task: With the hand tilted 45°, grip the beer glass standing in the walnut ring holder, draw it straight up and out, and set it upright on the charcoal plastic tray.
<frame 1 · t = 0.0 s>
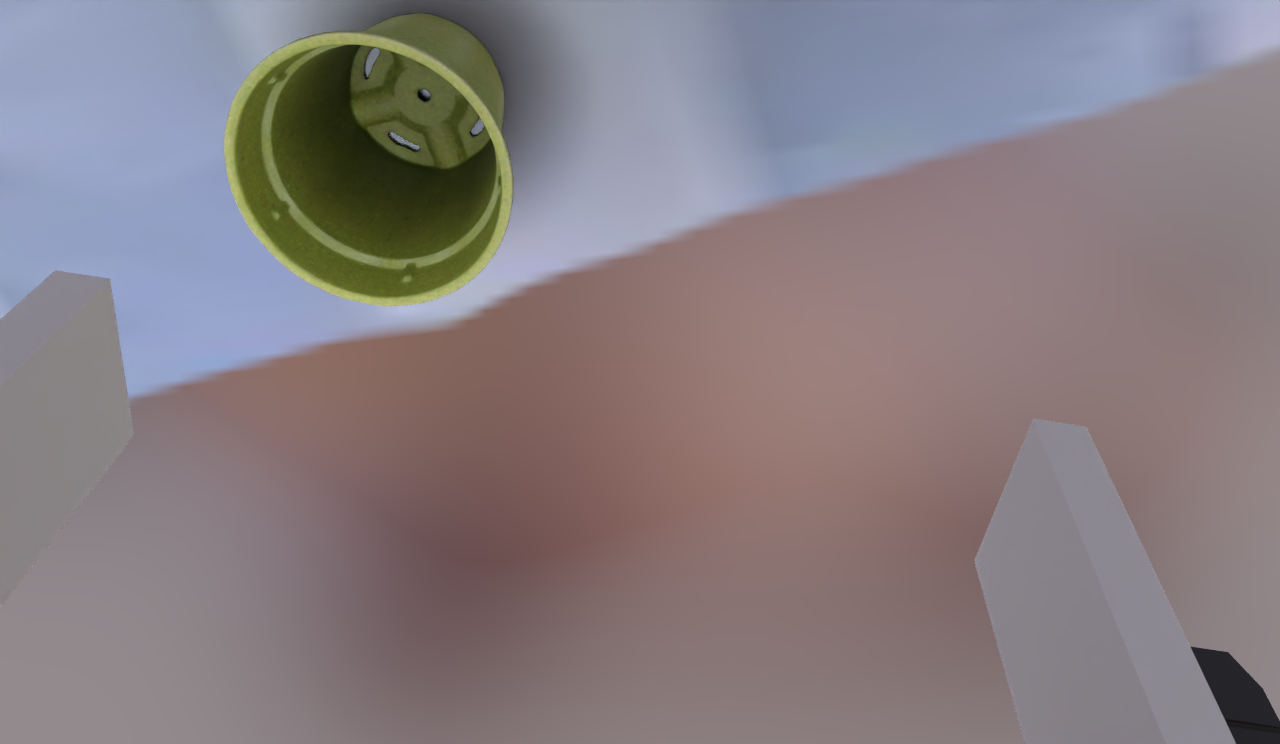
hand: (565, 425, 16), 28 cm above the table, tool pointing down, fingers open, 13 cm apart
plant pot: (431, 90, 42), on the table
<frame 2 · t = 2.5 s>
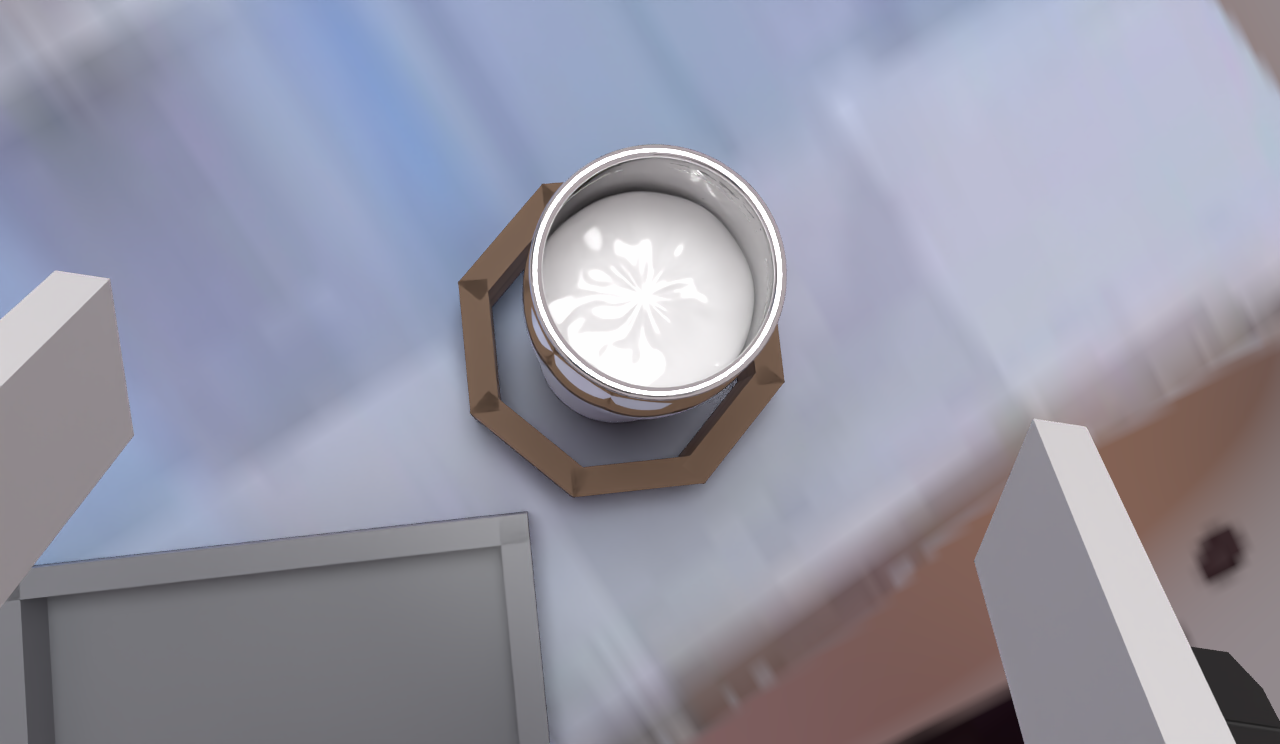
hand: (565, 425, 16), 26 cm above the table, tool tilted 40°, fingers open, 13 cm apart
ring holder: (615, 344, 42), on the table
tray: (297, 717, 40), on the table
beer glass: (615, 345, 42), resting in ring holder
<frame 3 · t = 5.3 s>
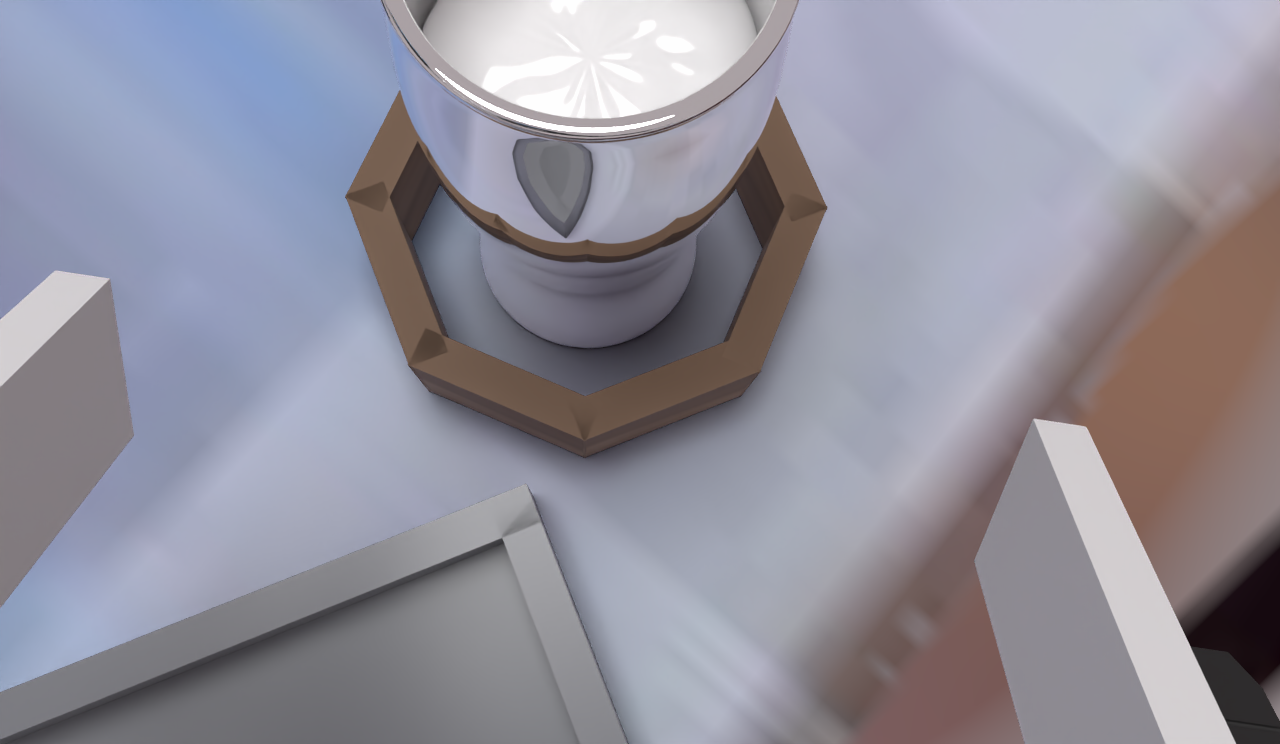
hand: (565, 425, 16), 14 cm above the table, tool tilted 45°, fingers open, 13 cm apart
ring holder: (588, 244, 31), on the table
beer glass: (588, 247, 31), resting in ring holder
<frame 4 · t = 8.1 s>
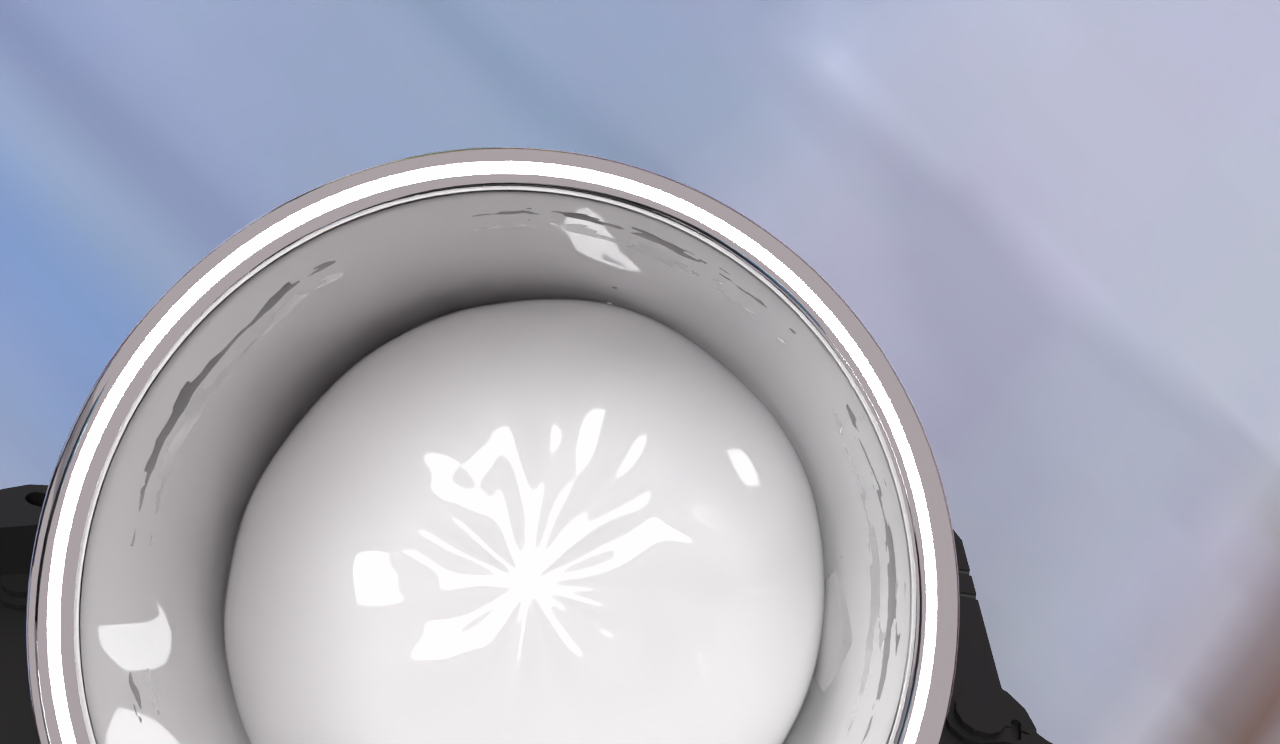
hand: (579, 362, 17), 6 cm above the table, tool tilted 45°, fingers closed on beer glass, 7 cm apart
beer glass: (553, 589, 22), resting in ring holder, touching gripper
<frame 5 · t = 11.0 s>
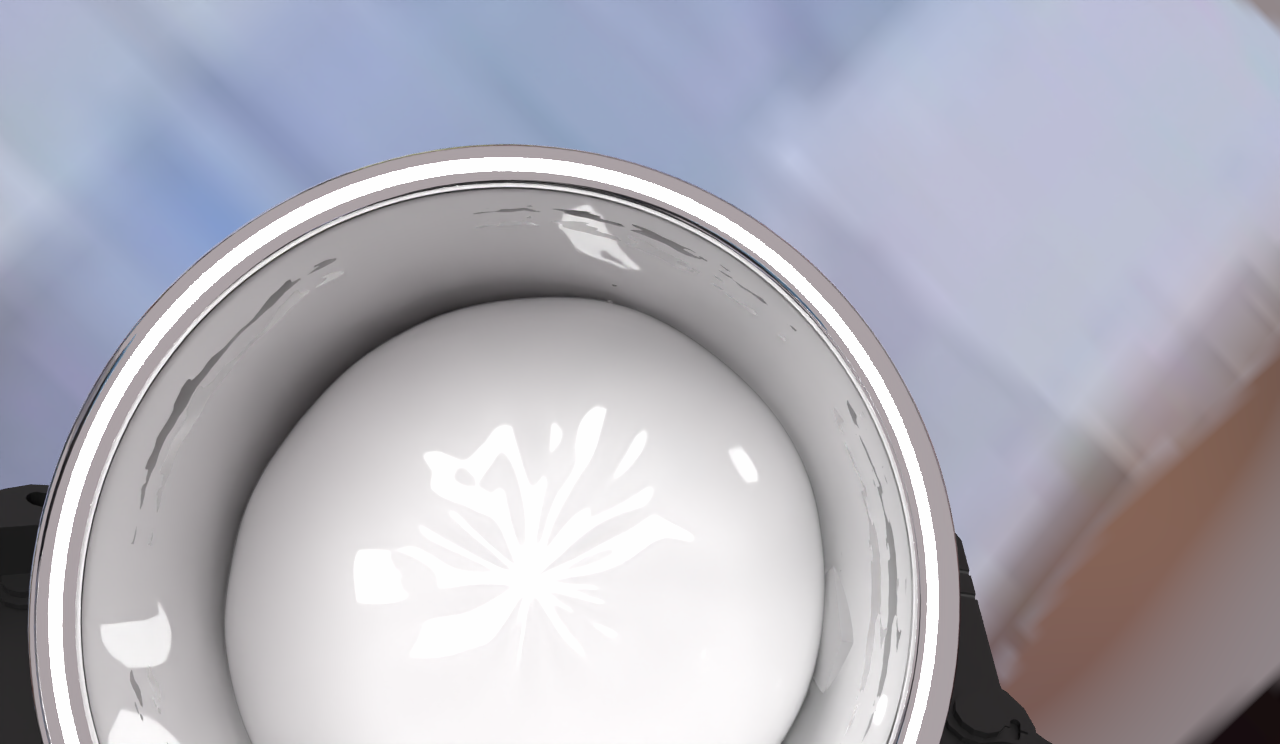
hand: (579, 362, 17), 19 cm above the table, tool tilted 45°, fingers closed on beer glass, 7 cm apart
beer glass: (552, 588, 22), point 13 cm above the table, touching gripper
when the fingers open (8 cm above the table, at t = 14.3 s): beer glass drops 1 cm, resting on tray.
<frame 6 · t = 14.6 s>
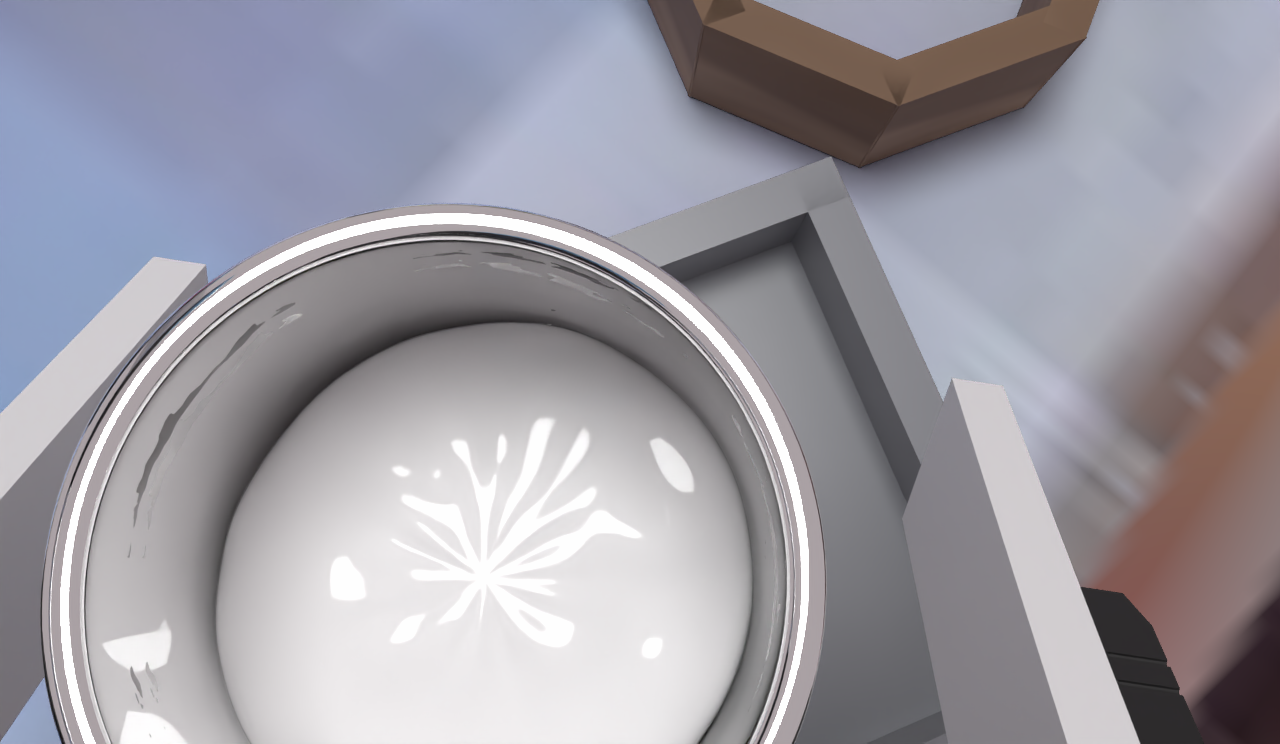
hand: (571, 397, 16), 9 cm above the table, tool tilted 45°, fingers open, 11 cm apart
tray: (558, 590, 25), on the table
beer glass: (533, 587, 24), point 1 cm above the table, touching tray
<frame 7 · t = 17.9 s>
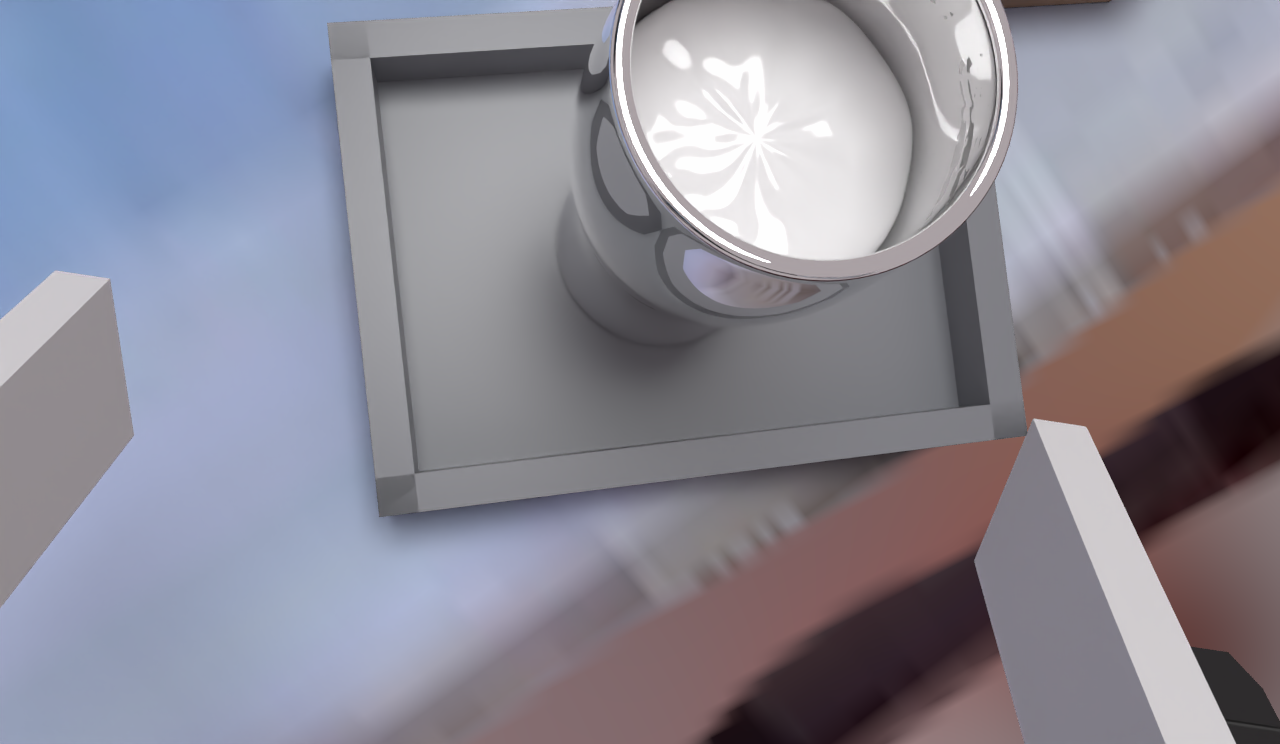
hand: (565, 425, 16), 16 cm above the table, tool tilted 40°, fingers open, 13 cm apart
tray: (671, 255, 33), on the table
beer glass: (659, 243, 32), point 1 cm above the table, touching tray
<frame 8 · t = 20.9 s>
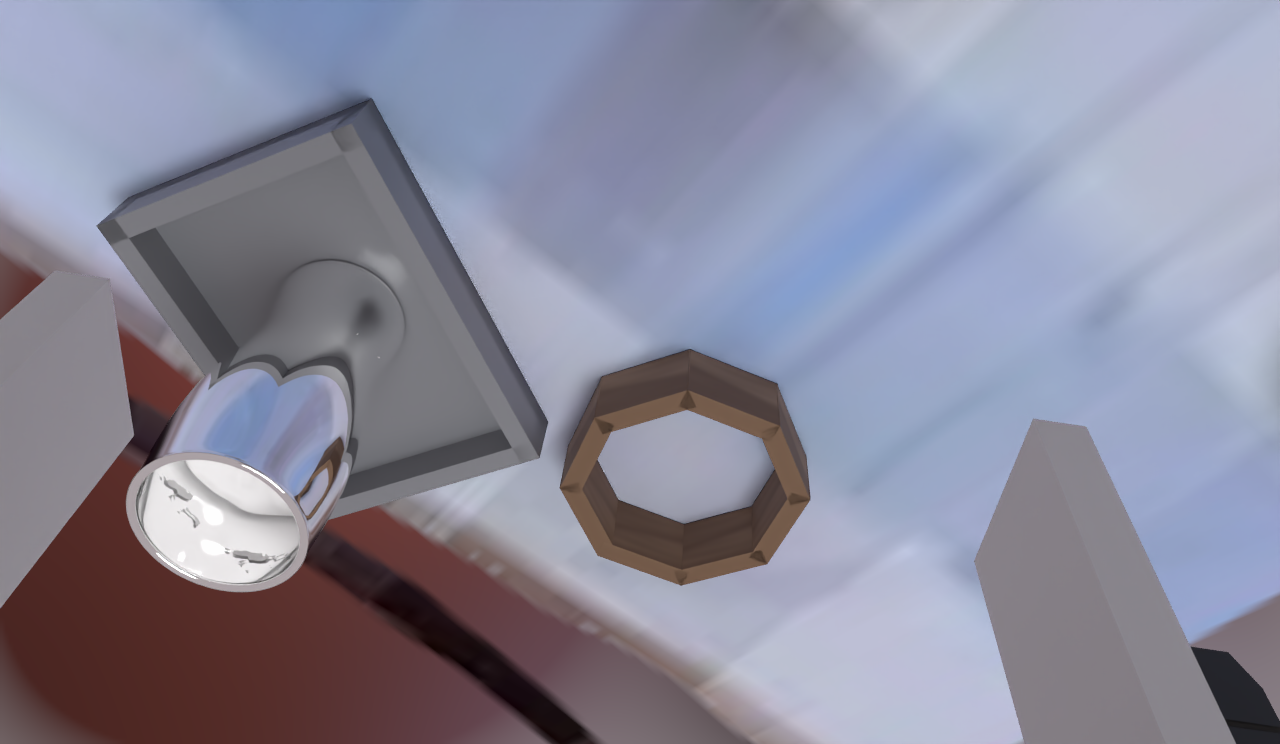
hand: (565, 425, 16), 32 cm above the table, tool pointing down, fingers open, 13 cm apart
ring holder: (686, 450, 55), on the table
tray: (348, 315, 52), on the table
beer glass: (343, 314, 51), point 1 cm above the table, touching tray
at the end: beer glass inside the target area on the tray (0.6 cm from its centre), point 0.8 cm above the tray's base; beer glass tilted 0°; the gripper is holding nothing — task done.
